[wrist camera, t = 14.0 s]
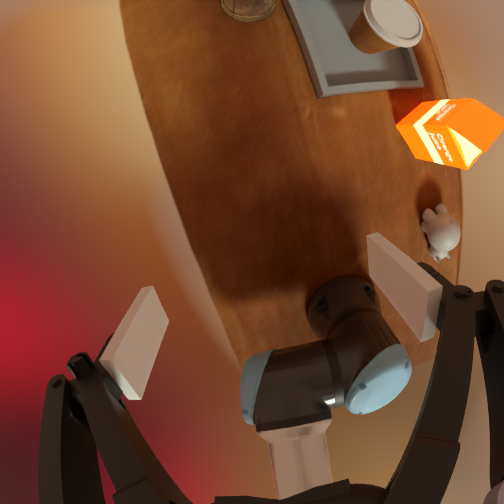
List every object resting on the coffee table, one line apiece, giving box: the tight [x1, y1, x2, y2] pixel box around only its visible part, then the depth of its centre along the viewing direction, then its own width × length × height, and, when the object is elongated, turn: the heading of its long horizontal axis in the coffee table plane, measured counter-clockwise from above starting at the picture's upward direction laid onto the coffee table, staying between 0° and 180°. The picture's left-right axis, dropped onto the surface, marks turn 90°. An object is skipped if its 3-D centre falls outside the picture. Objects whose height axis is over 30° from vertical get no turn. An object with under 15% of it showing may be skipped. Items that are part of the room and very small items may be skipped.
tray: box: [282, 0, 425, 98], centre depth 32 cm, size 20×20×4 cm
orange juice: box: [395, 98, 504, 170], centre depth 30 cm, size 8×9×20 cm
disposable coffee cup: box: [349, 0, 423, 54], centre depth 27 cm, size 10×10×12 cm
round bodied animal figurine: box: [421, 203, 460, 263], centre depth 44 cm, size 7×12×8 cm, turn 18°
